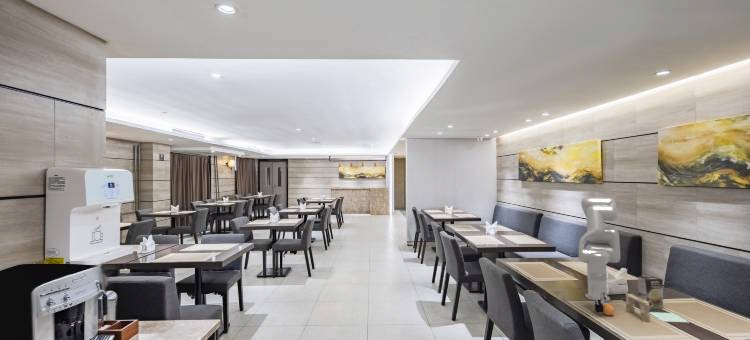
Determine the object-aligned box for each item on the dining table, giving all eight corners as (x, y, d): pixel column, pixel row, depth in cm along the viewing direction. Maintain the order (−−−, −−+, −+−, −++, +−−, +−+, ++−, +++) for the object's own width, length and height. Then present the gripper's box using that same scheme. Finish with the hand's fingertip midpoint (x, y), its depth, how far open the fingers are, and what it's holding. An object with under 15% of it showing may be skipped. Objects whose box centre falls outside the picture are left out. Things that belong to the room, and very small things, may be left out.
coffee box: (647, 309, 189) (646, 279, 190) (638, 305, 196) (637, 276, 196) (664, 308, 190) (662, 279, 190) (654, 304, 196) (653, 276, 197)
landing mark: (647, 312, 185) (647, 312, 185) (672, 313, 183) (672, 313, 183) (662, 321, 173) (662, 321, 173) (689, 322, 171) (689, 322, 171)
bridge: (643, 321, 173) (642, 302, 173) (626, 310, 187) (625, 293, 188) (649, 321, 173) (649, 303, 173) (632, 311, 187) (632, 293, 187)
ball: (597, 309, 185) (602, 300, 185) (607, 314, 184) (612, 305, 184) (603, 313, 180) (608, 304, 179) (613, 319, 179) (618, 309, 179)
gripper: (584, 272, 191) (585, 306, 191) (596, 280, 177) (597, 316, 176) (599, 273, 190) (600, 307, 189) (612, 280, 175) (614, 317, 175)
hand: (599, 311), depth 183 cm, fingers closed
